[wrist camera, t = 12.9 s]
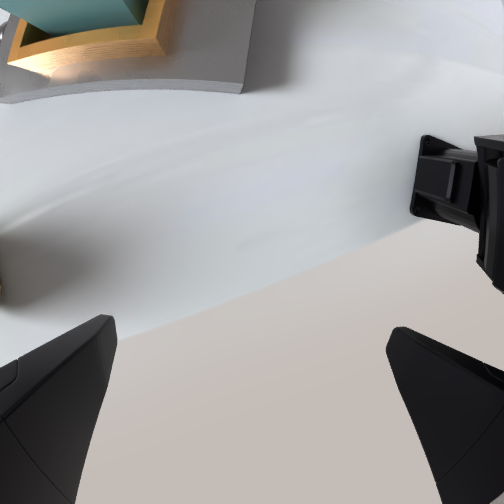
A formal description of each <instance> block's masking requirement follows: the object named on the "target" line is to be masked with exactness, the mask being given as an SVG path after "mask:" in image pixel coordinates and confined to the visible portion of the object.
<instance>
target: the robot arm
mask: <svg viewBox="0 0 504 504" xmlns="http://www.w3.org/2000/svg"><path fill="white" fill-rule="evenodd" d="M426 139H427V140H428V143H426ZM474 142H475V145H476V148H477V152H475V151H468V150H463V149H460V148H458V147H456V146H454V145H451V144H449V143H447V142H444V141H442V140H440V139H437V138H435V137H432V136H430V135H423V136H422V137H421V141H420V149H419V157H418V163H417V170H416V176H415V183H414V189H413V194H412V200H411V205H410V213H411V214H412V215H414V216H416V217H422V218H427V219H432V220H436V221H441V222H446V223H450V224H455V225H462V226H464V227H466V228H469V229H471V230H473V231H475V232H478V233H479V249H478V254H477V260H476V262H477V264H478V265H479V266H480V267H481V268H482V269H483V271H484V272H485V273H486V274H487V275H488V277H489V278H490V279H491V280H492V281H493V282H492V284H493V285H494V287H495V288H496V289H498V290H499V291H501V292H502V293H503V294H504V135H490V136H474ZM416 207H417V210H416V212H415V208H416ZM116 347H117V334H116V327H115V320H114V317H113V316H110V315H103V314H101V315H98V316H96V317H94V318H93V319H91V320H89V321H87V322H85V323H83V324H81V325H79V326H77V327H76V328H74V329H72V330H70V331H68V332H66V333H64V334H62V335H60V336H59V337H57V338H55V339H53V340H51V341H49V342H47V343H45V344H44V345H42V346H40V347H38V348H36V349H34V350H32V351H31V352H29V353H27V354H25V355H23V356H21V357H19V358H18V360H17V359H16V360H14V361H12V362H10V363H8V364H7V365H5V366H3V367H1V368H0V504H75V500H76V496H77V491H78V487H79V483H80V479H81V475H82V470H83V467H84V463H85V459H86V455H87V451H88V448H89V445H90V441H91V438H92V434H93V431H94V428H95V424H96V421H97V418H98V414H99V411H100V408H101V405H102V402H103V399H104V396H105V393H106V390H107V387H108V383H109V378H110V374H111V369H112V364H113V360H114V356H115V352H116ZM386 354H387V357H388V360H389V363H390V366H391V369H392V371H393V374H394V378H395V381H396V384H397V386H398V389H399V391H400V394H401V396H402V398H403V401H404V403H405V405H406V407H407V410H408V412H409V415H410V416H411V419H412V422H413V424H414V426H415V429H416V432H417V434H418V436H419V439H420V442H421V444H422V447H423V449H424V452H425V455H426V457H427V460H428V463H429V465H430V468H431V471H432V473H433V477H434V479H435V482H436V486H437V489H438V492H439V495H440V498H441V501H442V504H490V503H491V504H504V371H502V370H499V369H497V368H495V367H493V366H490V365H488V364H486V363H483V362H482V361H479V360H477V359H475V358H473V357H471V356H468V355H466V354H464V353H462V352H460V351H457V350H455V349H453V348H451V347H449V346H446V345H444V344H442V343H440V342H438V341H436V340H433V339H431V338H429V337H427V336H425V335H422V334H420V333H418V332H416V331H414V330H411V329H409V328H407V327H396V328H394V329H393V331H392V334H391V336H390V339H389V341H388V343H387V346H386Z"/></svg>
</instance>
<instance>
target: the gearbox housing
mask: <svg viewBox="0 0 504 504" xmlns="http://www.w3.org/2000/svg"><path fill="white" fill-rule="evenodd" d="M255 4H256V0H149V2H148V6H147V9H146V13H145V17H144V21H143V25H132V26H121V27H112V28H104V29H97V30H91V31H85V32H79V33H74V34H69V35H65V36H60V37H56V38H55V37H53V36H52V35H50V34H48V33H46V32H45V31H43V30H41V29H39V28H38V27H36V26H34V25H32V24H30V23H28V22H27V21H25V20H23V19H21V18H19V17H17V16H15V15H13V14H10V17H9V20H8V21H7V22H4V23H3V24H2V25H1V26H0V103H4V104H14V103H19V102H24V101H29V100H34V99H40V98H46V97H52V96H59V95H67V94H75V93H84V92H96V91H109V90H131V89H175V90H198V91H212V92H224V93H234V94H240V93H241V90H242V87H243V84H244V77H245V70H246V63H247V56H248V49H249V42H250V36H251V29H252V23H253V17H254V10H255Z"/></svg>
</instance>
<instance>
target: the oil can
mask: <svg viewBox="0 0 504 504" xmlns="http://www.w3.org/2000/svg"><path fill="white" fill-rule="evenodd" d="M148 2H149V0H0V8H1V9H3V10H5V11H7V12H9V13H11V14H13V15H15V16H17V17H19V18H21V19H23V20H25V21H27V22H28V23H30V24H32V25H34V26H36V27H38V28H39V29H41V30H43V31H45V32H46V33H48V34H50V35H52V36H53V37H55V38H56V37H60V36H65V35H69V34H74V33H79V32H85V31H91V30H97V29H104V28H112V27H121V26H132V25H143V21H144V17H145V13H146V9H147V6H148Z"/></svg>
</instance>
